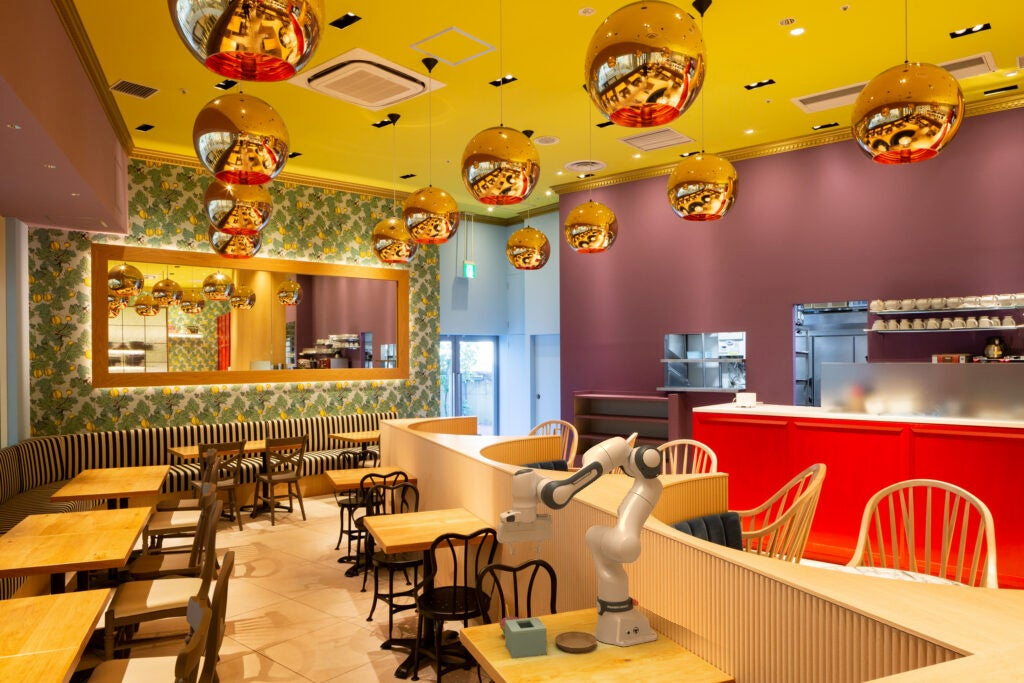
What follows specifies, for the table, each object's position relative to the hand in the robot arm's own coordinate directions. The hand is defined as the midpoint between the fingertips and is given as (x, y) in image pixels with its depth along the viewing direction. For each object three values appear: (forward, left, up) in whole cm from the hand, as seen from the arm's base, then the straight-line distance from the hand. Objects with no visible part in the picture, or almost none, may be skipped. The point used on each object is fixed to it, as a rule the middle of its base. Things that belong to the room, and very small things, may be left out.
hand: (524, 553), depth 242 cm
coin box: (+2, +7, -31) cm, 32 cm away
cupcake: (+4, -6, -31) cm, 32 cm away
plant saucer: (-16, +8, -32) cm, 36 cm away
